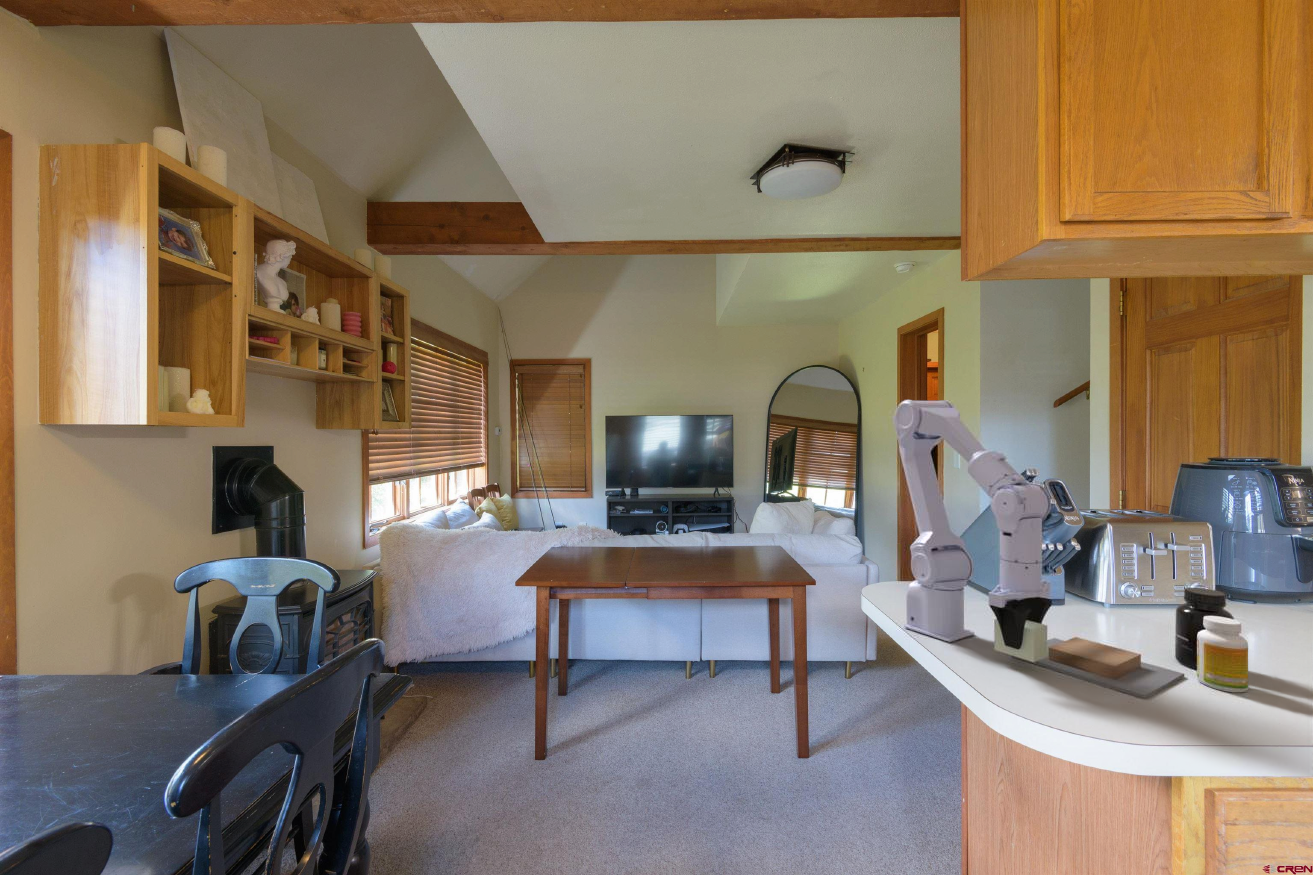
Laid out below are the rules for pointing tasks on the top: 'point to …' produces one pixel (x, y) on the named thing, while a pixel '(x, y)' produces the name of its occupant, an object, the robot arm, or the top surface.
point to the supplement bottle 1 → (1195, 621)
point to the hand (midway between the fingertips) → (1020, 644)
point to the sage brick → (1025, 642)
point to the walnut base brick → (1095, 657)
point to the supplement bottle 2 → (1222, 655)
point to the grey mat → (1133, 683)
